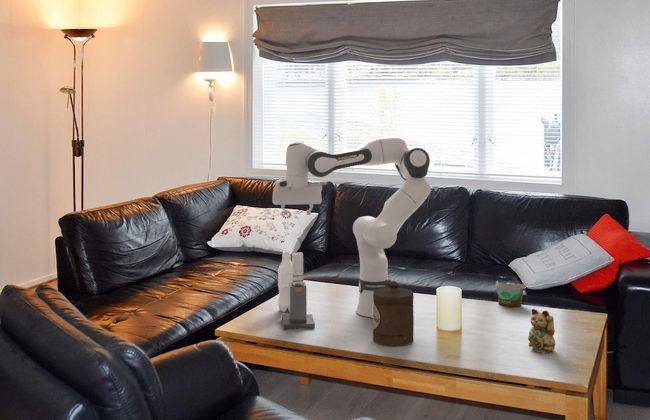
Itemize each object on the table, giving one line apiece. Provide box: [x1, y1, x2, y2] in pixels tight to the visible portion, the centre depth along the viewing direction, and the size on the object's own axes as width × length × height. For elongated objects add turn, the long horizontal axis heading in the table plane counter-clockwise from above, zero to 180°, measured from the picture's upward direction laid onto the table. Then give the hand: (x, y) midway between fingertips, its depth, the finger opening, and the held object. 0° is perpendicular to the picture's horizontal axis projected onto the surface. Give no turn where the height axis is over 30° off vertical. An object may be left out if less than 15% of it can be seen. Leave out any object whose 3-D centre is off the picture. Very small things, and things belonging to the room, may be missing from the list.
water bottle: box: [277, 250, 292, 313], centre depth 325 cm, size 7×7×25 cm
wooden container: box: [372, 280, 415, 347], centre depth 288 cm, size 15×15×22 cm
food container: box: [495, 280, 526, 309], centre depth 332 cm, size 12×6×10 cm, turn 68°
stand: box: [281, 281, 316, 331], centre depth 307 cm, size 12×12×17 cm
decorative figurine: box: [527, 308, 556, 354], centre depth 278 cm, size 10×8×15 cm
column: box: [291, 251, 304, 286], centre depth 306 cm, size 4×4×20 cm
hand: (297, 215), depth 326 cm, fingers open, 8 cm apart
